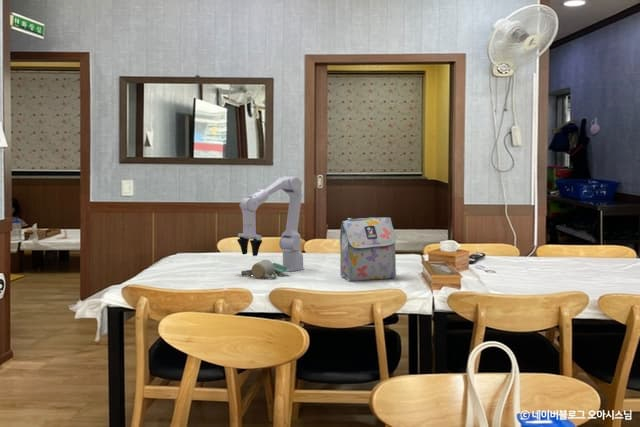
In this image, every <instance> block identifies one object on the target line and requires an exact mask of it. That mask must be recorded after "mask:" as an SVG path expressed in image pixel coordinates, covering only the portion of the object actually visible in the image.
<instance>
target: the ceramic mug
mask: <svg viewBox="0 0 640 427" xmlns="http://www.w3.org/2000/svg"><path fill="white" fill-rule="evenodd" d="M273 263H274V262H272V261H271V260H270V259H262V260H261V261H259V262H258V261H257V262H256V263H254V264H253V265H252V267H251V270H252V274H253V276H252V277H254V278H255V279H257V278H259V279H260V280H261V278H262V279H266V278H267V279H269V280H275V278H277V276H278V274H277V273H275V272H274V265H273ZM259 279H258V280H259Z"/></svg>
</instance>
